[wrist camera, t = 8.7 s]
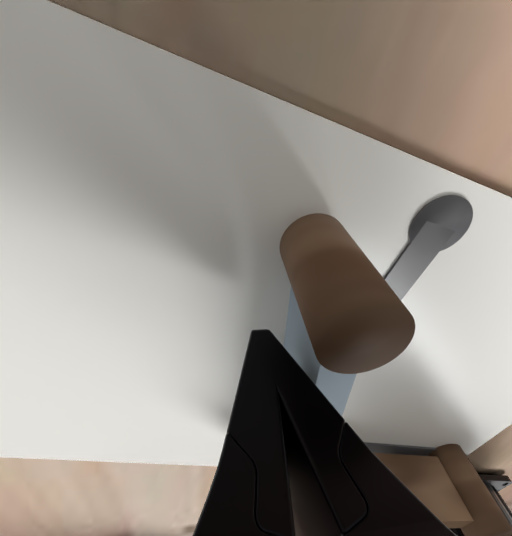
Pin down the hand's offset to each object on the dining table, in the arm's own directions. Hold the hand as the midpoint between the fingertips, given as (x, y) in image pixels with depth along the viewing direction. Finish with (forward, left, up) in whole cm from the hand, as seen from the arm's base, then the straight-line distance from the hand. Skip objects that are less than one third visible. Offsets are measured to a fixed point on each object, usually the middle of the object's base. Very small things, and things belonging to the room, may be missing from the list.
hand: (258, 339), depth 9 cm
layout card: (-5, +3, -2) cm, 6 cm away
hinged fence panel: (-2, +2, -1) cm, 3 cm away
